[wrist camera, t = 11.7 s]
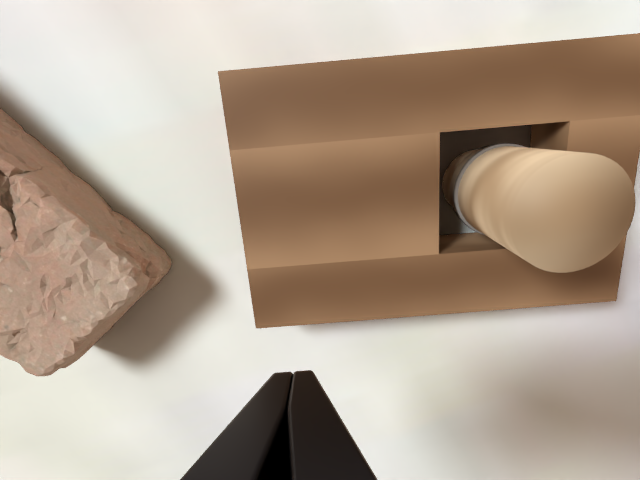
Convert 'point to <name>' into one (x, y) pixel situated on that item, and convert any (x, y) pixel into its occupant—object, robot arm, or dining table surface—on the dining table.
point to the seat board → (411, 175)
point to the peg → (543, 202)
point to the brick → (62, 258)
